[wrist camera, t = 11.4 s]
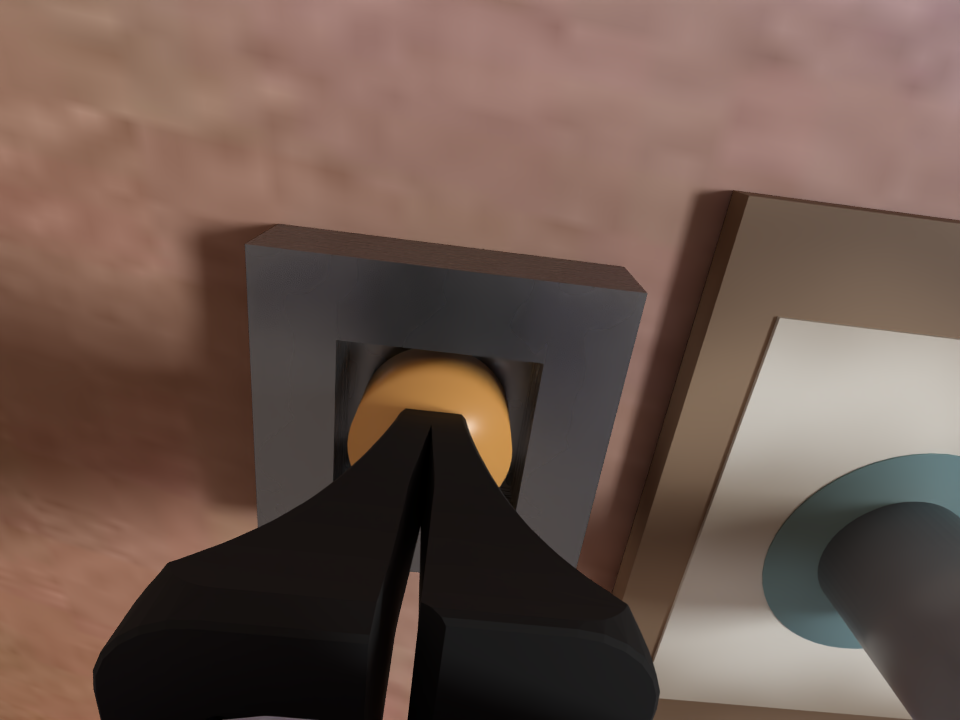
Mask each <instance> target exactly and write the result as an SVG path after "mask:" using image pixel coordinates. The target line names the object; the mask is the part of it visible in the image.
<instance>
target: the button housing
mask: <svg viewBox="0 0 960 720" xmlns="http://www.w3.org/2000/svg"><path fill="white" fill-rule="evenodd" d="M245 258H246V280H247V302H248V323H249V345H250V367H251V388H252V410H253V431H254V453H255V475H256V496H257V518H258V527H260V526H262V525H264V524H266V523H268V522H270V521H272V520H274V519H276V518H278V517H280V516H282V515H283V514H285V513H287V512H288V511H290V510H292V509H294V508H295V507H297V506H299V505H300V504H302V503H304V502H305V501H307V500H309V499H310V498H312V497H313V496H314V495H316V494H317V493H319V492H320V491H321V490H323V489H324V488H326V487H327V486H328V485H329V484H331V483H332V482H333V481H335V480H336V479H337V478H338V477H339V476H341V475H342V474H343V473H344V472H345V471H346V470H348V469H349V468H350V467H351V464H350V460H349V455H348V435H349V431H350V427H351V424H352V422H353V419H354V417H355V414H356V412H357V409H358V407H359V404H360V401H361V399H362V396H363V394H364V391H365V389H366V387H367V384H368V382H369V380H370V379H371V377H372V376H373V374H374V373H375V372H376V371H377V369H378V368H379V367H380V366H381V365H382V364H384V363H385V362H386V361H387V360H389V359H390V358H392V357H393V356H395V355H397V354H399V353H401V352H404V351H407V350H410V349H420V350H429V351H438V352H446V353H455V354H464V355H472V356H473V357H475V358H477V359H478V360H480V361H481V362H482V363H484V364H485V365H486V366H487V367H488V368H489V369H490V370H491V371H492V372H493V373H494V374H495V375H496V377H497V378H498V379H499V381H500V383H501V385H502V387H503V389H504V391H505V394H506V397H507V402H508V409H509V419H510V430H511V440H512V459H511V464H510V468H509V471H508V473H507V475H506V478H505V479H504V481H503V482H502V484H501V486H500V487H499V488H500V490H501V491H502V493H503V494H504V496H505V497H506V498H507V500H508V501H509V503H510V504H511V505H512V507H513V508H514V509H515V510H516V512H517V513H518V514H519V515H520V516H521V518H522V519H523V520H524V521H525V522H526V524H527V525H528V526H529V527H530V528H531V529H532V530H533V531H534V532H535V533H536V534H537V535H538V536H539V537H540V538H541V539H542V540H543V541H544V542H545V543H546V544H547V545H548V546H549V547H551V548H552V549H553V550H554V551H555V552H556V553H557V554H558V555H560V556H561V557H562V558H563V559H564V560H566V561H567V562H568V563H569V564H571V565H572V566H573V567H574V568H576V567H577V563H578V559H579V556H580V552H581V548H582V544H583V540H584V536H585V532H586V528H587V525H588V521H589V517H590V513H591V509H592V505H593V501H594V498H595V494H596V490H597V486H598V482H599V478H600V474H601V471H602V467H603V463H604V459H605V455H606V451H607V447H608V444H609V440H610V436H611V432H612V428H613V424H614V420H615V417H616V413H617V409H618V405H619V401H620V397H621V393H622V389H623V386H624V382H625V378H626V374H627V370H628V366H629V362H630V359H631V355H632V351H633V347H634V343H635V339H636V335H637V332H638V328H639V324H640V320H641V316H642V312H643V308H644V305H645V301H646V297H647V292H646V291H645V290H644V289H643V288H642V287H641V286H640V284H639V283H638V282H637V281H636V280H635V279H634V278H633V276H632V275H631V274H630V273H629V272H628V271H627V270H626V269H625V267H619V266H611V265H603V264H595V263H587V262H579V261H571V260H563V259H555V258H547V257H539V256H531V255H523V254H515V253H507V252H499V251H491V250H483V249H475V248H467V247H459V246H451V245H443V244H435V243H427V242H419V241H411V240H403V239H395V238H387V237H378V236H370V235H362V234H354V233H346V232H338V231H330V230H322V229H314V228H306V227H298V226H290V225H282V224H277V225H276V226H274V227H272V228H271V229H269V230H267V231H266V232H264V233H262V234H261V235H259V236H257V237H256V238H254V239H252V240H251V241H249V242H247V243H246V244H245ZM420 535H421V527H420V532H419V536H418V540H417V544H416V548H415V552H414V556H413V560H412V564H411V568H410V572H420Z"/></svg>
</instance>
